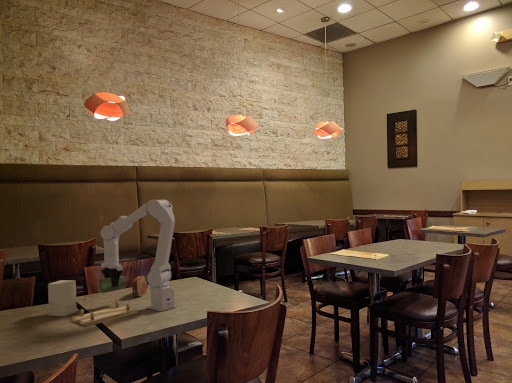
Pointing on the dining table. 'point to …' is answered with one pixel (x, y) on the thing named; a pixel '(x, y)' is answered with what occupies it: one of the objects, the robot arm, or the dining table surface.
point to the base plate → (104, 314)
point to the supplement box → (62, 297)
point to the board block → (106, 285)
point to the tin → (139, 286)
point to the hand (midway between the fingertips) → (112, 286)
